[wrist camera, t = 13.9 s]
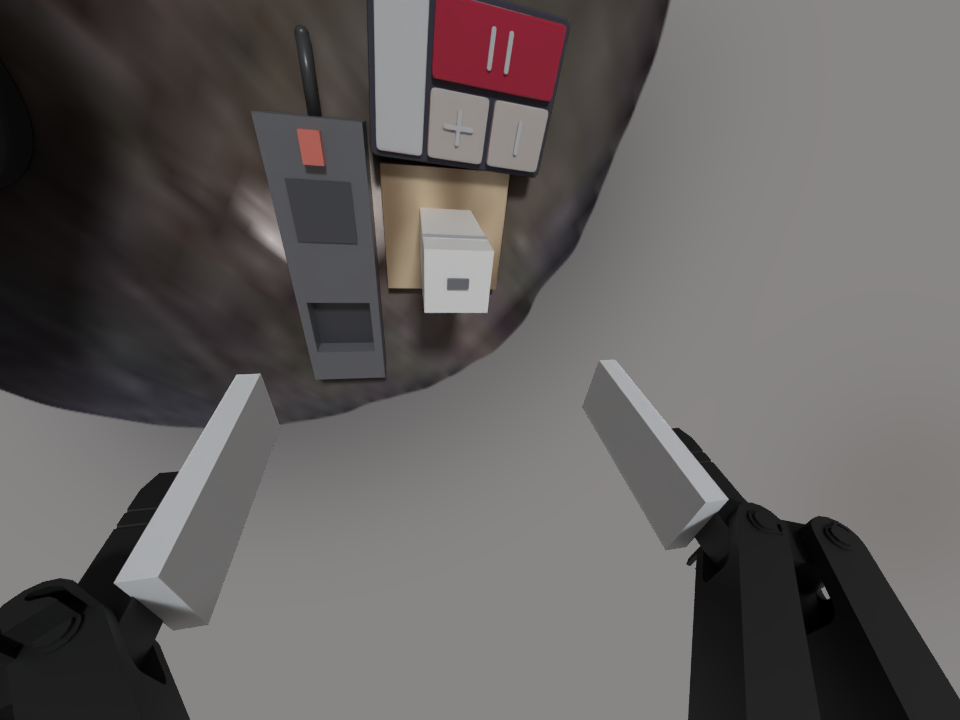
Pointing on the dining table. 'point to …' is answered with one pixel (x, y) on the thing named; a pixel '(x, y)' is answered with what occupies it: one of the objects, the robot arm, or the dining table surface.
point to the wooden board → (439, 190)
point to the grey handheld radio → (326, 229)
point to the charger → (454, 262)
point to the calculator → (463, 82)
